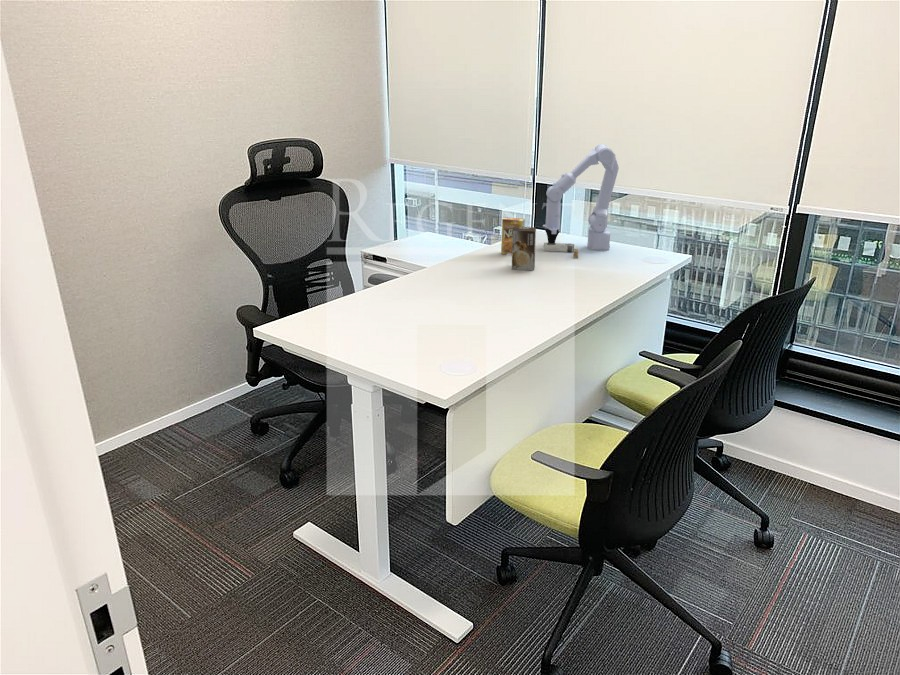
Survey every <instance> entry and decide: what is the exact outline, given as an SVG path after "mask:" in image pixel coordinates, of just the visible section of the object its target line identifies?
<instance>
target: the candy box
mask: <svg viewBox="0 0 900 675" xmlns="http://www.w3.org/2000/svg"><path fill="white" fill-rule="evenodd" d="M525 221H526V219H525V218H519V217H506V216H504V217H503V218H502V219H501V222H502V223H501V244H500V246H501V250H500V253H501V255H507V254H508V253H511V254H512V236H513V228H514V227H525Z"/></svg>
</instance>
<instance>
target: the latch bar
mask: <svg viewBox="0 0 900 675" xmlns="http://www.w3.org/2000/svg"><path fill="white" fill-rule="evenodd" d="M574 249H575V244H574V243H566V242H565V243H563V242H562V243H561V242H555V243H548V242H543V252H561V253H574Z"/></svg>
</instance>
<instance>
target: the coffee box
mask: <svg viewBox="0 0 900 675" xmlns="http://www.w3.org/2000/svg"><path fill="white" fill-rule="evenodd" d="M536 233H537V227H534V226H533V227H532V226H531V227H529V226H524V227H514V228H513V236H512V253H511V270H515V271H516V270H517V271H535V268H536V242H537V241H536V239H537V238H536V236H537V234H536Z"/></svg>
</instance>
